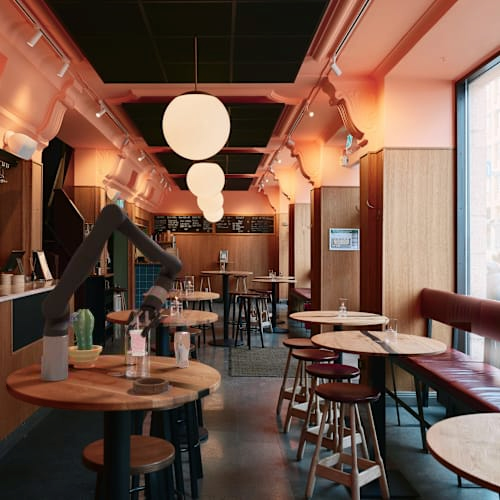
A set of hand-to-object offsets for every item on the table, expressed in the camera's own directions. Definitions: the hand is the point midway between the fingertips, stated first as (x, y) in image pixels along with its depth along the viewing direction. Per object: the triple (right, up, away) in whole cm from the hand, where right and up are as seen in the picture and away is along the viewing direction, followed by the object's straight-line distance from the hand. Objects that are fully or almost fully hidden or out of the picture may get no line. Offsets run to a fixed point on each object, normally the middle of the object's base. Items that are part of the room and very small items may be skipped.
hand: (135, 335), depth 191 cm
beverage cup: (+1, -7, +2) cm, 8 cm away
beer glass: (+12, -21, +41) cm, 47 cm away
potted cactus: (-31, -20, +41) cm, 55 cm away
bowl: (+6, -19, 0) cm, 20 cm away
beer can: (-12, -20, +46) cm, 52 cm away
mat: (+6, -20, 0) cm, 21 cm away
